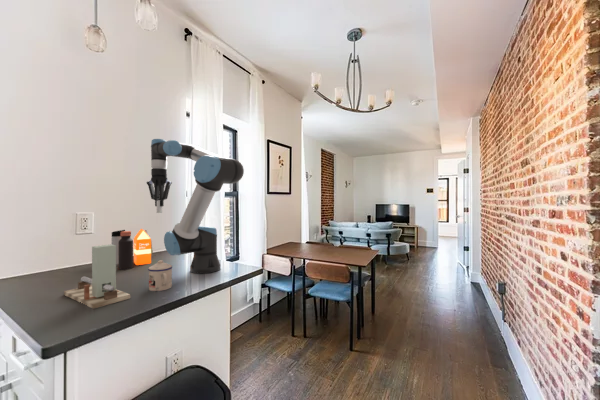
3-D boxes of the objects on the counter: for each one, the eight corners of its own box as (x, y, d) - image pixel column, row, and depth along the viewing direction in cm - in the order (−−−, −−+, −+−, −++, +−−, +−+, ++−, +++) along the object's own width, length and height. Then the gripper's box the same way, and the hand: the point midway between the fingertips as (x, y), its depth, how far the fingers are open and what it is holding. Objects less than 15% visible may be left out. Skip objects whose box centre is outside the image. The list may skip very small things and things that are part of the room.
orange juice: (148, 260, 171) (148, 228, 171) (151, 263, 164) (151, 229, 164) (133, 262, 166) (133, 229, 166) (136, 265, 159) (136, 230, 159)
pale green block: (92, 295, 102) (92, 246, 102) (110, 290, 108) (110, 244, 108) (97, 297, 100) (96, 247, 100) (115, 292, 105) (115, 245, 105)
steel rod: (80, 282, 113) (80, 276, 113) (86, 281, 115) (86, 275, 115) (107, 292, 100) (107, 286, 100) (114, 291, 102) (114, 284, 102)
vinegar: (136, 267, 155) (136, 231, 155) (125, 270, 148) (125, 232, 148) (126, 266, 156) (126, 230, 156) (115, 269, 150) (115, 232, 150)
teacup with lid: (145, 288, 118) (145, 260, 118) (168, 283, 124) (168, 257, 124) (153, 295, 109) (153, 265, 109) (177, 290, 115) (177, 261, 115)
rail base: (64, 295, 109) (64, 278, 109) (99, 286, 119) (99, 271, 119) (93, 308, 95) (93, 289, 95) (130, 298, 105) (130, 281, 105)
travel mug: (123, 265, 159) (123, 230, 159) (110, 266, 157) (110, 230, 157) (126, 263, 165) (126, 229, 165) (113, 264, 162) (113, 229, 162)
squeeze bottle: (155, 257, 182) (155, 229, 182) (147, 259, 174) (147, 230, 174) (144, 257, 183) (143, 229, 183) (135, 259, 175) (135, 230, 175)
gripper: (174, 169, 153) (174, 212, 153) (151, 169, 153) (151, 212, 153) (167, 167, 145) (167, 213, 145) (143, 167, 146) (143, 213, 146)
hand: (159, 212), depth 149 cm, fingers closed
